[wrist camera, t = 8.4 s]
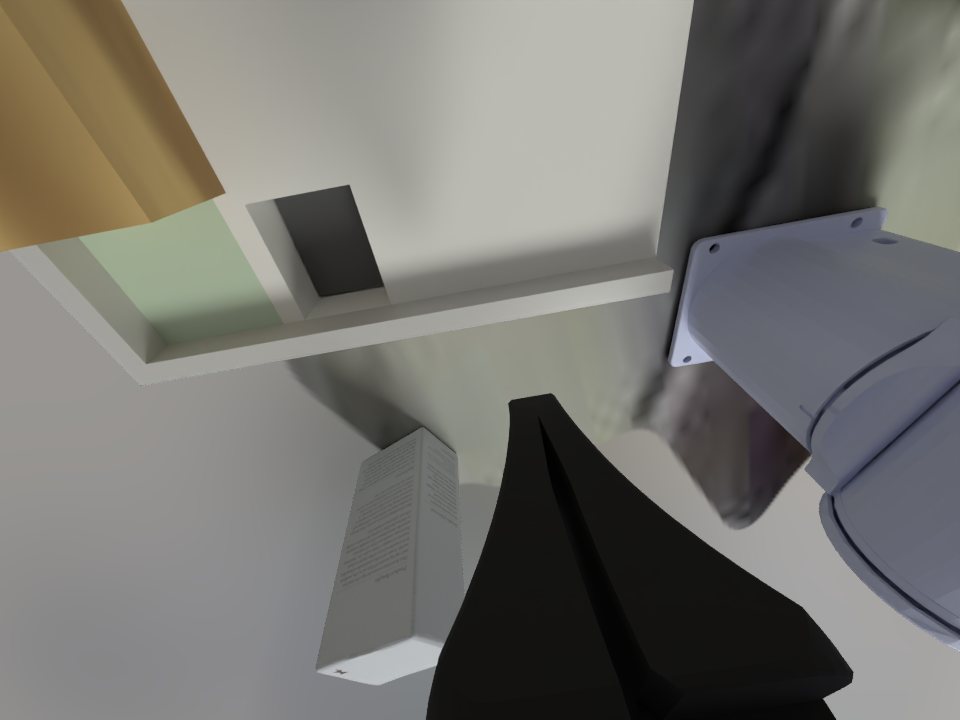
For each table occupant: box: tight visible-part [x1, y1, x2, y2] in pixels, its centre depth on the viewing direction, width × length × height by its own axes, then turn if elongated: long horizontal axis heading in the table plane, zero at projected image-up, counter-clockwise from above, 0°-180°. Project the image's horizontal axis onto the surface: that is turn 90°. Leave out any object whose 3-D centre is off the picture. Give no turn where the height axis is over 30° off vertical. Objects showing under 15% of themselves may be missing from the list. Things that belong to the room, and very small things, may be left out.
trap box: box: [9, 0, 694, 386], centre depth 11 cm, size 24×18×4 cm
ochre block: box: [0, 0, 226, 252], centre depth 10 cm, size 5×5×4 cm
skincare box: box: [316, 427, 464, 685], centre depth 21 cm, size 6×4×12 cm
